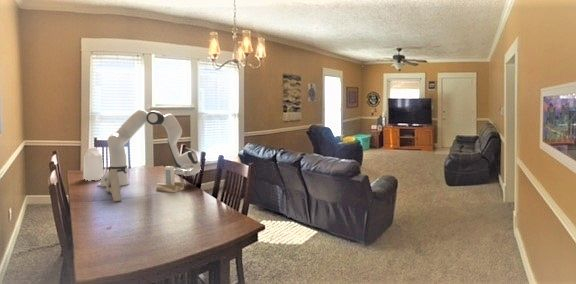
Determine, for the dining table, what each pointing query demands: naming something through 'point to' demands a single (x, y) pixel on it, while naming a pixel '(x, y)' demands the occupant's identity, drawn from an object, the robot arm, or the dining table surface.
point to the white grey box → (169, 175)
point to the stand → (170, 187)
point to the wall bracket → (113, 185)
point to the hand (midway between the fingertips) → (174, 173)
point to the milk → (93, 165)
